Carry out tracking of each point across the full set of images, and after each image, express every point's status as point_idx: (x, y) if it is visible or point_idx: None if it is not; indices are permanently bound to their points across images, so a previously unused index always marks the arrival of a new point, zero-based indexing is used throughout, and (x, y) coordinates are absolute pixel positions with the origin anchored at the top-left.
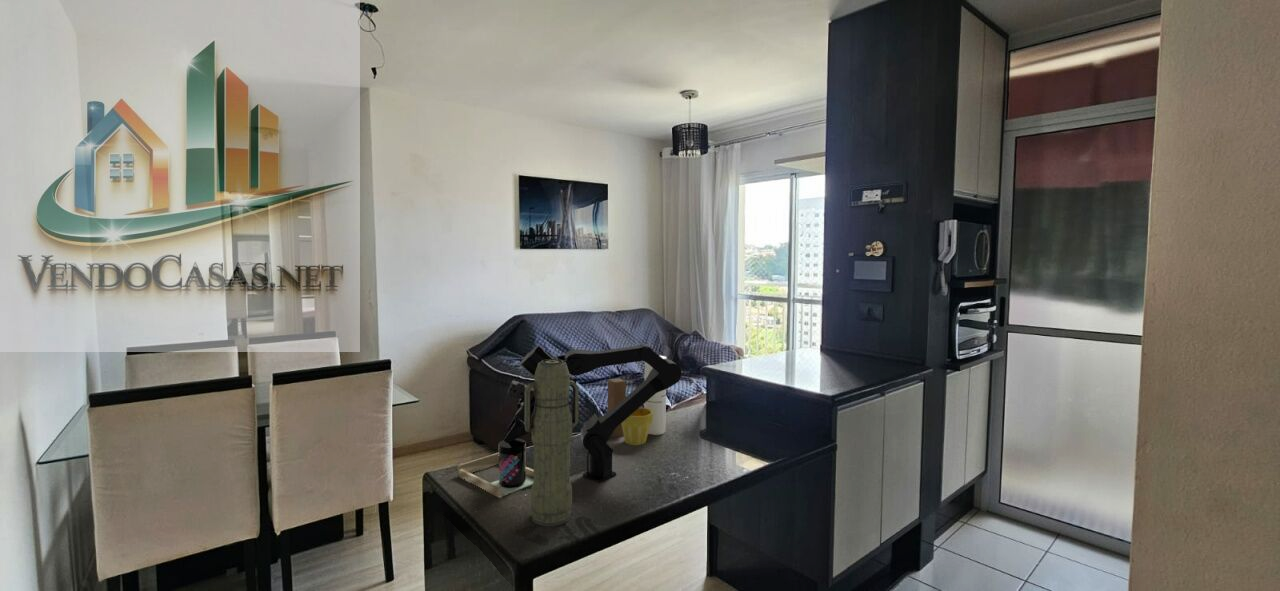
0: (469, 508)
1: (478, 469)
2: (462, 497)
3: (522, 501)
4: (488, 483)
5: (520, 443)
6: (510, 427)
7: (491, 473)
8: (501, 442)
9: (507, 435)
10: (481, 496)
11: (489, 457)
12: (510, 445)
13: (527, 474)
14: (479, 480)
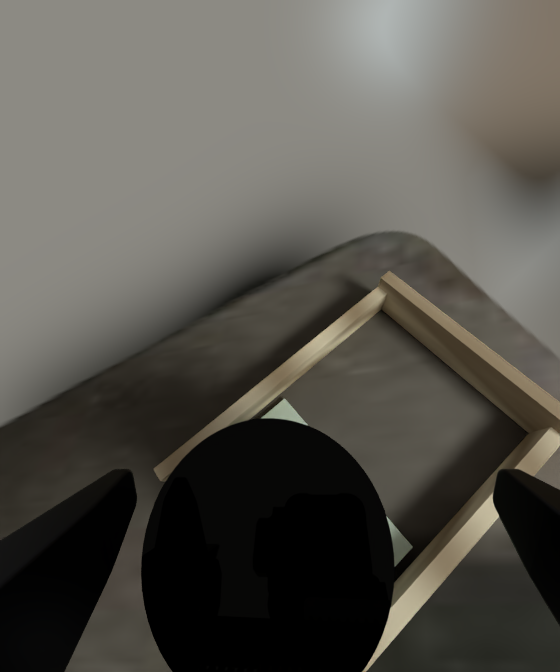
0: (121, 375)
1: (438, 353)
2: (207, 341)
3: (108, 580)
4: (229, 413)
5: (234, 646)
6: (533, 515)
7: (413, 410)
8: (288, 439)
9: (47, 512)
10: (200, 400)
11: (505, 380)
12: (200, 530)
13: None
14: (271, 374)
